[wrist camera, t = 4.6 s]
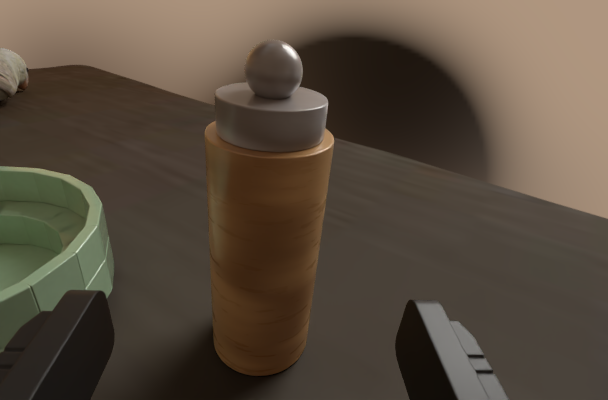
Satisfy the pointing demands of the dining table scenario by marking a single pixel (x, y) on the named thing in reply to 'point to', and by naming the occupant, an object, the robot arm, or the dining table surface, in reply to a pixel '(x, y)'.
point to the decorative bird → (11, 73)
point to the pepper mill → (265, 210)
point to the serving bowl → (48, 244)
